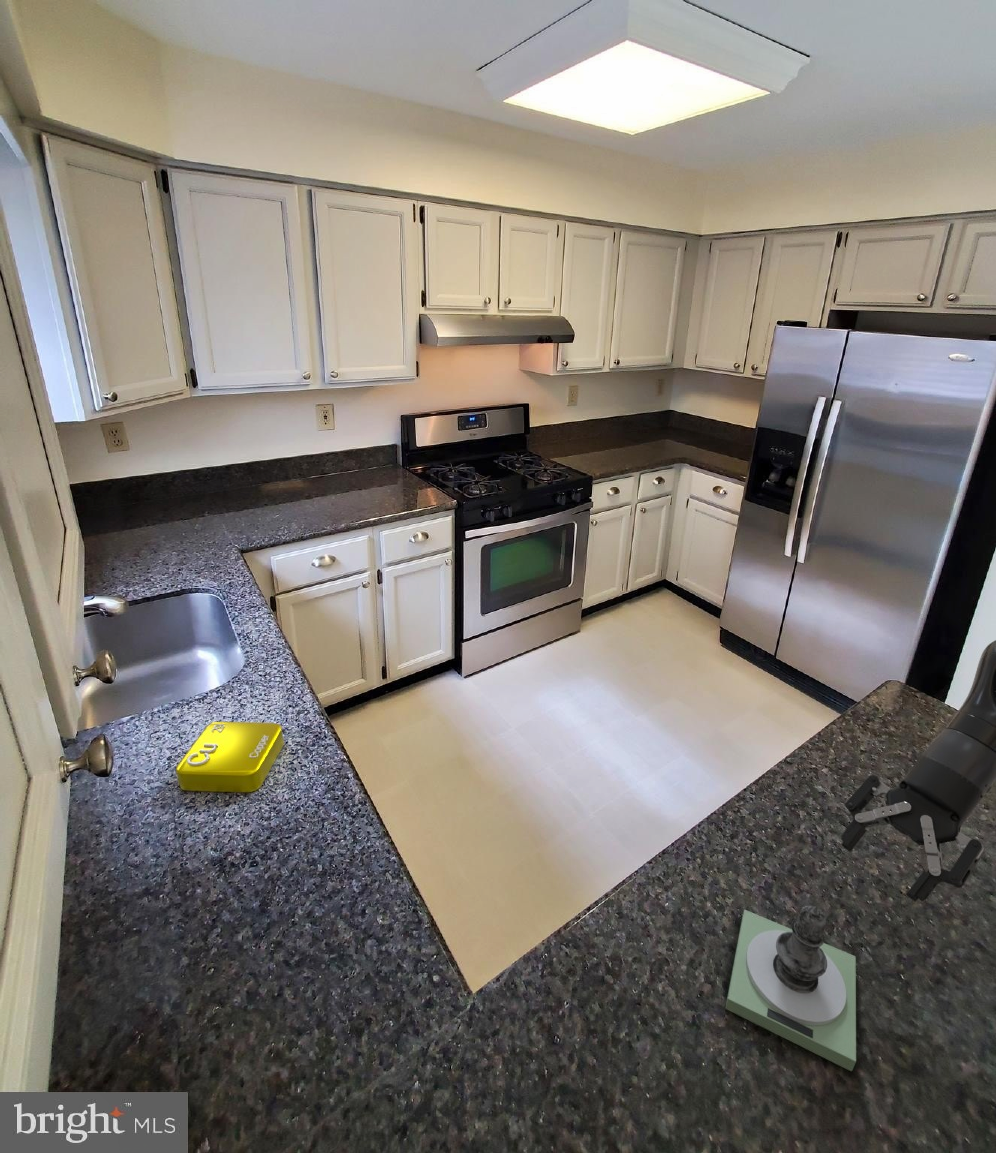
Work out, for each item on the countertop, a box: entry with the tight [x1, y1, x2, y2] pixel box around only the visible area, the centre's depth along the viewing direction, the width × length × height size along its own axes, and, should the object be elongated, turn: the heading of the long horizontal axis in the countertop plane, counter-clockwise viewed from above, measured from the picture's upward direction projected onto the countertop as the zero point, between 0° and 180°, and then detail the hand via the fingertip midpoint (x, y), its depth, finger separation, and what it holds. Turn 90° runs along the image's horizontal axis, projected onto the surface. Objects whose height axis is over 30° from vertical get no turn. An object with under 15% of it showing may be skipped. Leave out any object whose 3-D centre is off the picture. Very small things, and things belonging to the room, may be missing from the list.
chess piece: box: [773, 905, 827, 993], centre depth 74 cm, size 6×6×12 cm
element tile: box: [175, 721, 285, 794], centre depth 113 cm, size 15×15×5 cm
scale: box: [724, 909, 857, 1072], centre depth 77 cm, size 14×14×3 cm
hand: (876, 872), depth 77 cm, fingers open, 8 cm apart
